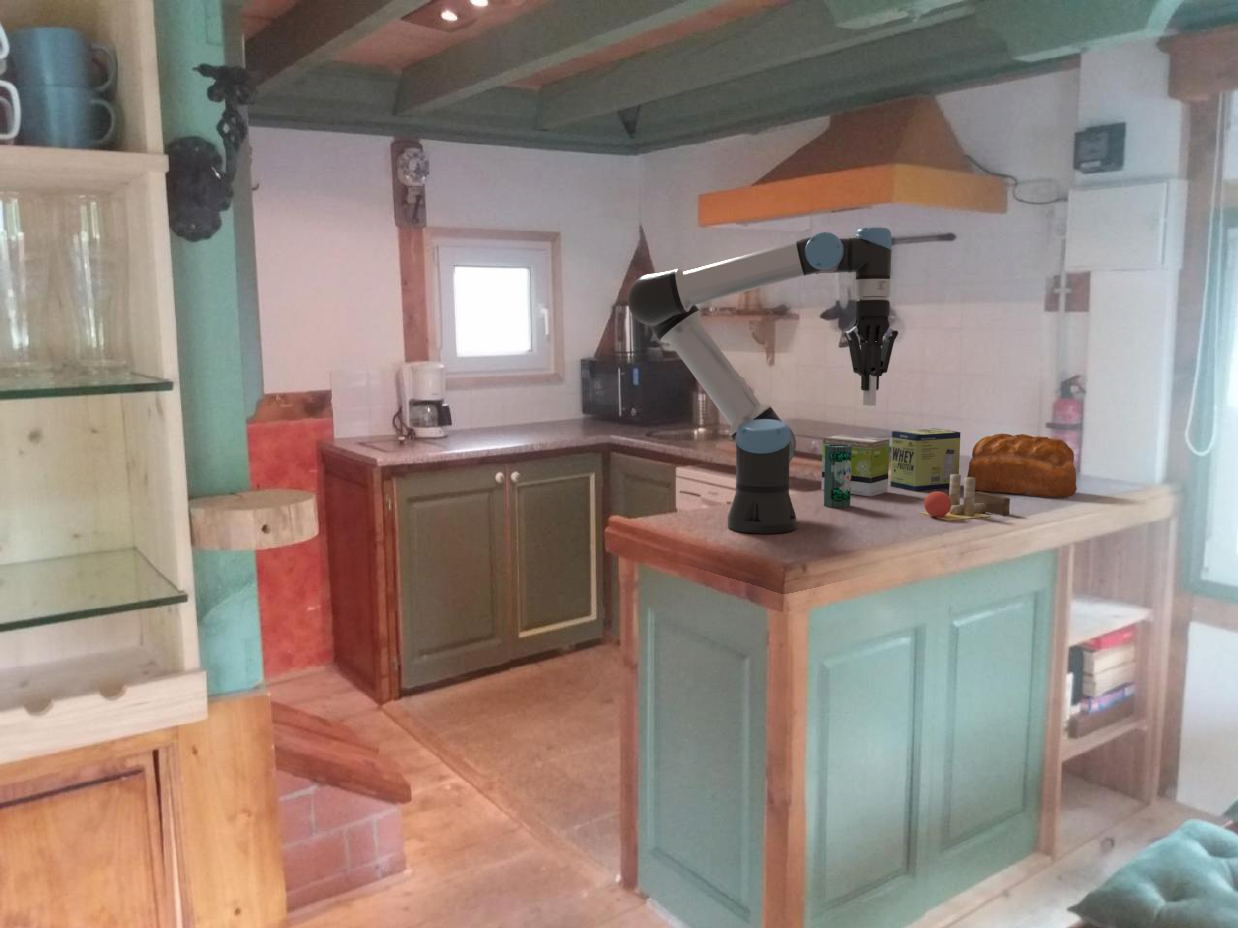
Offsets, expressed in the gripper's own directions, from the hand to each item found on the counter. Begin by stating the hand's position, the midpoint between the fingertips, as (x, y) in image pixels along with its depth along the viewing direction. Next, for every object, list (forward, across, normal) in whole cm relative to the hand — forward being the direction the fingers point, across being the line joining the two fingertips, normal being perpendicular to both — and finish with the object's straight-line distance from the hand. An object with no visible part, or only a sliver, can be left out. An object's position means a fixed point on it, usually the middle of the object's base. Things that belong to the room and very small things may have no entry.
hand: (869, 405), depth 219 cm
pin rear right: (+26, +24, -6) cm, 36 cm away
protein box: (+27, +42, +33) cm, 60 cm away
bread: (+27, +60, +17) cm, 68 cm away
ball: (+23, +17, -4) cm, 29 cm away
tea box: (+27, +20, +34) cm, 48 cm away
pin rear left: (+26, +24, 0) cm, 36 cm away
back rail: (+26, +33, -3) cm, 42 cm away
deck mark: (+26, +22, -3) cm, 35 cm away
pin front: (+25, +22, -3) cm, 33 cm away
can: (+27, +4, +18) cm, 32 cm away
